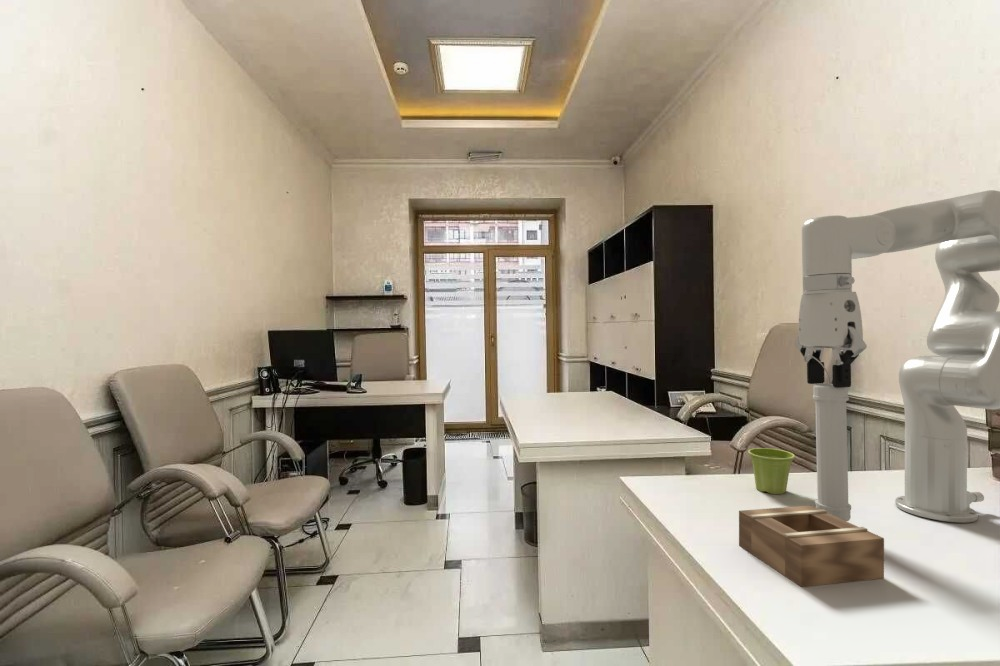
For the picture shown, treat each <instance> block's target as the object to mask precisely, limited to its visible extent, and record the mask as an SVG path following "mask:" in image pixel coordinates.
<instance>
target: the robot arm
mask: <svg viewBox="0 0 1000 666" xmlns="http://www.w3.org/2000/svg"><path fill="white" fill-rule="evenodd" d="M936 244H937V247H936V249H935V253H934V256H935V257H934V259H935V263H936V267H937V269H938V272H939V274H940V277H941V280H942V284H943V286H944V290H945V291H944V292H945V293H944V298H943V300H942V302H941V304H940V307H939V309H938V310H937V313H936V315H935V317H934V319H933V321H932V324H931V326H930V328H929V330H928V332H927V333H928V334H927V335H926V346H927V348H928V349H929V350H930V352H931V353H933V354H934V355H921V356H914V357H911V358H909V359H908V360H906V361H904V362H903V363H902V365H901V366H900V368H899V371H898V383H899V387H900V393H901V395H902V401H903V408H904V495H900V496H897V497H896V498H895V499H894V502H895V503H894V504H895V506H896V507H897V508H898V509H900V510H902V511H904V512H907V513H909V514H910V515H911V514H912V515H915V516H917V517H922V518H925V519H930V520H935V521H941V522H949V523H959V524H960V523H961V524H962V523H963V524H965V523H966V524H967V523H973V522H976V521H977V520H978V518H979V516H978V515H979V514H978V512H977V511H976V510H974V508H971V506H970V505H971V504H972V503H980V502H984V500H985V495H984V494H983V493H982V492H980V491H972V492H970V491H968V428H967V425H966V422H965V420H964V418H963V417H962V415H961V414H960V412H959V410H958V409H957V408H956V406H958V407H965V408H966V407H967V408H975V409H983V410H1000V311H998V310H997V309H998V307H999V304H1000V296H999V294H998V292H997V290H996V289H995V288H994V287H993V286H992V285H991V284H990V283H989V282H987V280H985V279H984V278H983V277H982V275H981V274H980V273H983V272H984V273H985V272H996V271H997V272H999V271H1000V191H999V190H995V189H994V190H993V189H992V190H990V189H989V190H988V189H987V190H984V191H979V192H973V193H969V194H965V195H960V196H955V197H949V198H945V199H939V200H934V201H930V202H924V203H919V204H917V203H916V204H912V205H906V206H901V207H897V208H892V209H889V210H883V211H881V212H877V213H874V214H870V215H860V216H852V217H847V216H845V215H825V216H819V217H815V218H811V219H808V220H806V221H805V222H804V223H803V224H802V227H801V257H802V258H801V262H802V263H801V264H802V267H801V268H802V294H801V297H800V303H799V311H798V329H797V330H798V336H797V338H796V340H795V341H794V346H795V347H796V348H797V349H798V350H799V351H800V353H801V355H802V356H803V361H804V362H805V363H806V377H807V379H806V380H807V381H806V382H807V384H809V385H816V384H825V381H826V380H825V369H824V368H823V366H824V367H825V362H824V361H822V359H823V354H824V350H825V349H831V352H832V355H833V359H834V362H835V364H832V384H833V387H836V388H842V387H848V388H851V386H852V365H854V364H855V360H856V359H857V358H858V357H859V356H860V354H862V352H864V350H866V349H867V344H866V342H865V340H864V334H863V333H864V332H863V330H864V329H863V320H862V319H863V318H862V311H861V306H860V301H859V297H858V294H857V291H853V284H854V283H855V278H854V277H853V271H852V270H853V269H852V265H853V264H852V263H853V261H852V260H856V259H863V258H864V259H865V258H871V257H876V256H880V255H881V254H889V253H898V252H903V251H909V250H914V249H918V248H922V247H927V246H931V245H932V246H933V245H936ZM842 352H843V354H842ZM809 355H811V356H813V357H815V358H816V359H818V360H819V361H820V362H821V363H822V364H823V366H822V365H821V364H820V363H819V362H818V361H817V360H816V359H814V358H813V357H811V356H809Z"/></svg>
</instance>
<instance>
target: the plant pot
mask: <svg viewBox="0 0 1000 666" xmlns="http://www.w3.org/2000/svg"><path fill="white" fill-rule="evenodd" d="M747 452H748V455H749V456H750V460H751V463H752V468H753V476H754V482H755V483H754V484H755V489H757V490H758V491H759V492H766V493H768V494H771V495H783V494H785V493H786V492H787V488H788V487H787V486H788V482H789V474H790V470H791V466H792V463H793V459H795V454H794V453H793V452H790V451H787V450H783V449H776V448H767V447H758V448H757V447H756V448H750V449H748V450H747Z"/></svg>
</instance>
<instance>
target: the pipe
mask: <svg viewBox="0 0 1000 666" xmlns="http://www.w3.org/2000/svg"><path fill="white" fill-rule="evenodd" d="M809 356H811V355H809ZM811 357H813V356H811ZM813 358H814V359H816V358H815V357H813ZM816 360H817V361H818V362H819V363H820V364H821V365H822V366H823V364H822V363H821V362H822V361H819V360H818V359H816ZM823 368H824V372H825V373H826V376H827V379H828V383H820V384H813V386H812V387H813V392H812V393H813V395H812V399H813V400H814V404H815V407H814V408H815V440H816V441H815V443H816V444H815V447H816V448H815V449H816V485H817V486H816V487H817V488H816V490H817V493H816V494H817V496H816V497H817V498H816V499H815V500H814V504H815V508H817V509H819V510H821V509H823V510H826V511H827V513H828V514H831V515H833V516H835V517H837V518H840V519H842V520H844V521H846V522H850V520H851V510H852V504H850V503H849V471H848V470H849V468H848V466H849V464H848V428H847V427H848V425H847V422H848V421H847V419H848V418H847V417H848V415H847V402H848V401H849V400H850V397H849V389H848V388H849V387H842V388H836V387H833V383H831V379H830V375H829V372H828V370H827V368H826V367H825V365H824V366H823Z"/></svg>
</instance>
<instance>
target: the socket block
mask: <svg viewBox="0 0 1000 666" xmlns="http://www.w3.org/2000/svg"><path fill="white" fill-rule="evenodd" d="M738 546H739V547H740V548H742V549H743V550H745V551H747V552H748V553H750V554H751V555H753V556H754V557H756V558H757V559H759V560H760V561H761V562H763V563H764V564H766V565H767V566H769V567H771V568H772V569H774V570H775V571H777V572H778V573H780V574H781V575H783V576H784V577H785V578H787V579H789V580H790V581H792V582H794V583H795V584H797V585H798V586H799V587H800V588H802V587H814V586H822V585H830V584H831V585H832V584H842V583H851V582H861V581H869V580H870V581H871V580H879V579H880V580H881V579H884V578H885V538H884V537H883V536H881V535H878V534H875V533H873V532H871V531H869V530H868V528H866V527H864V526H857V525H855V524H854V523H851V522H850V521H844V520H842V519H840V518H837V517H835V516H833V515H831V514H828V513H827V511H826V510H823V509H821V510H819V509H817V508H816V506H815V507H814V506H812V505H798V506H786V507H773V508H772V507H771V508H770V507H769V508H759V509H758V508H757V509H744V510H738Z"/></svg>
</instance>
